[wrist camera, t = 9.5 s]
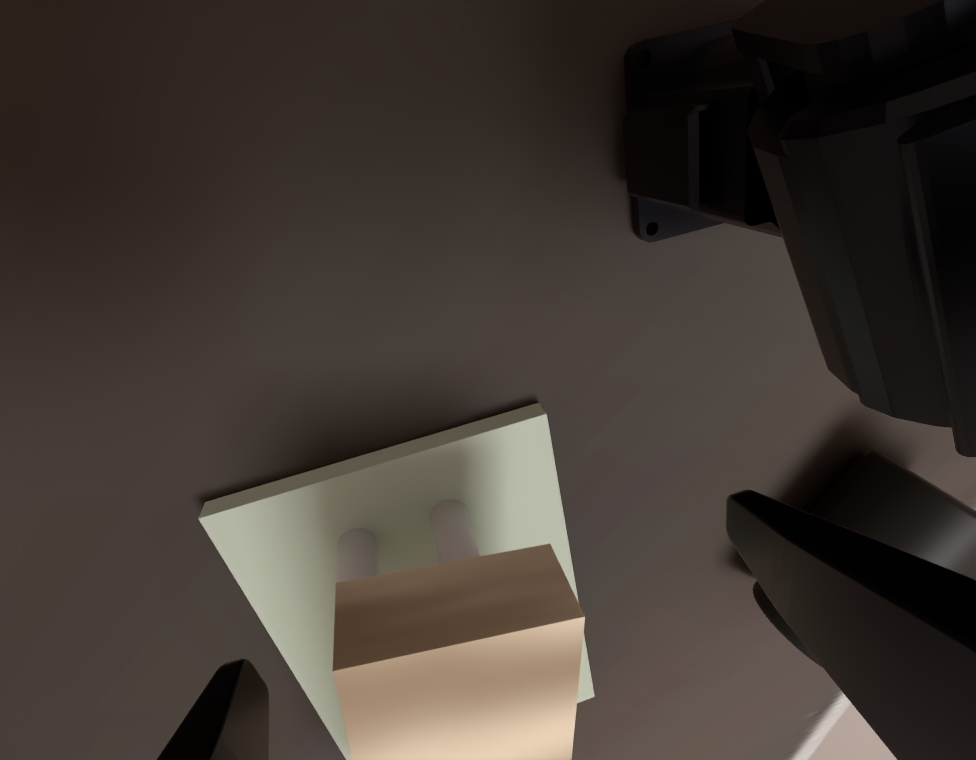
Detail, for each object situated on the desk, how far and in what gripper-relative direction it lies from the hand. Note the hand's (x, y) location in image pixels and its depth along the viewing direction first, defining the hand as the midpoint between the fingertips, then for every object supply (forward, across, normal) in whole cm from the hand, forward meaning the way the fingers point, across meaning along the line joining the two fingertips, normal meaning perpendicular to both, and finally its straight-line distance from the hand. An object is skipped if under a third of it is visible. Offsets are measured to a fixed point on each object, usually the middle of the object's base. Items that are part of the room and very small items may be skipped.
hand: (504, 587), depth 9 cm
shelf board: (+6, +3, +14) cm, 15 cm away
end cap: (+12, -19, +17) cm, 28 cm away
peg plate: (+12, +3, +14) cm, 19 cm away
